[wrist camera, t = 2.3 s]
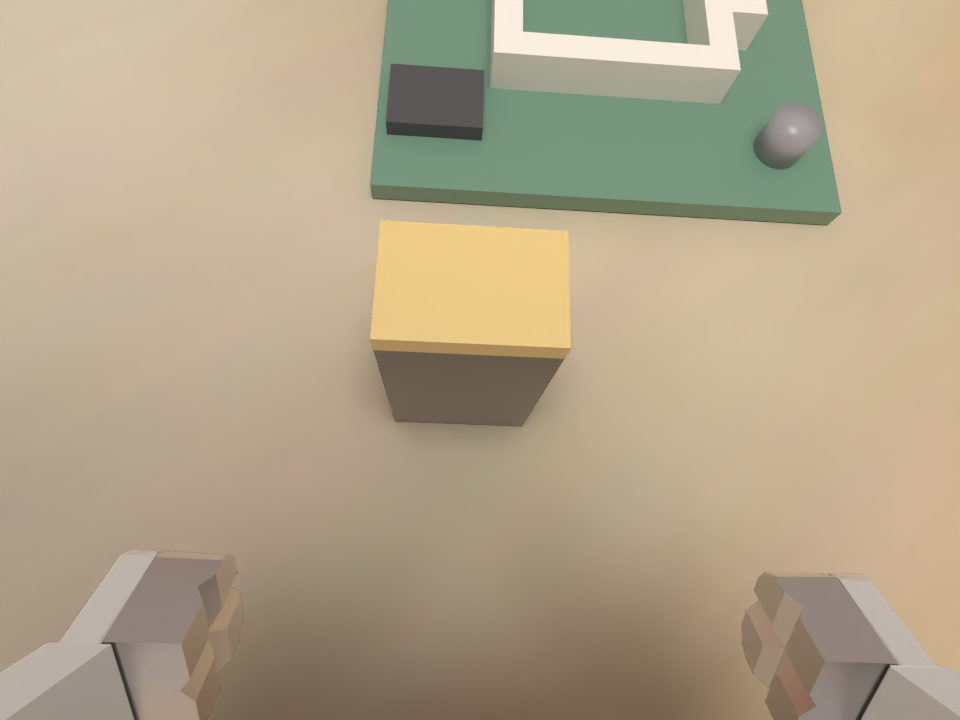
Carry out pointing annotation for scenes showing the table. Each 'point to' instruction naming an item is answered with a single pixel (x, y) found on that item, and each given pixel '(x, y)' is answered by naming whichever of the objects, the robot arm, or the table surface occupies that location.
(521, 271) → the plug
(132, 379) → the table surface
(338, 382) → the table surface
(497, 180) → the header board
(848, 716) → the robot arm
